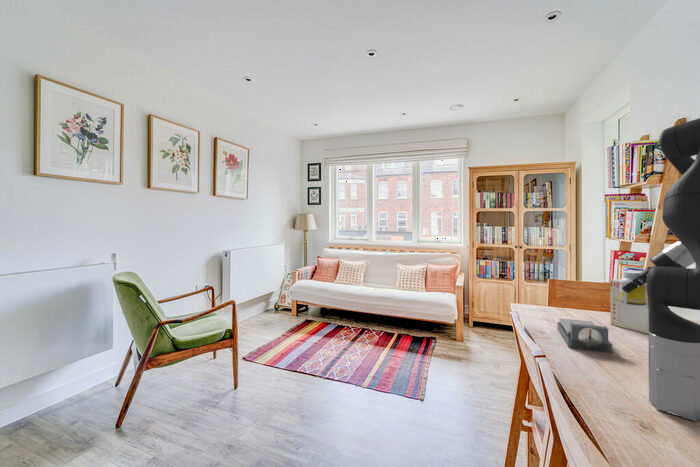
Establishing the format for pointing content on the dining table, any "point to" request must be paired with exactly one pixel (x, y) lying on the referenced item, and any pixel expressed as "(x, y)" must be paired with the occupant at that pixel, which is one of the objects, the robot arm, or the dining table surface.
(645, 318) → the coffeecake box
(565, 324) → the pan
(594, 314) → the dining table surface
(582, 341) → the kitchen scale
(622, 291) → the pill bottle
